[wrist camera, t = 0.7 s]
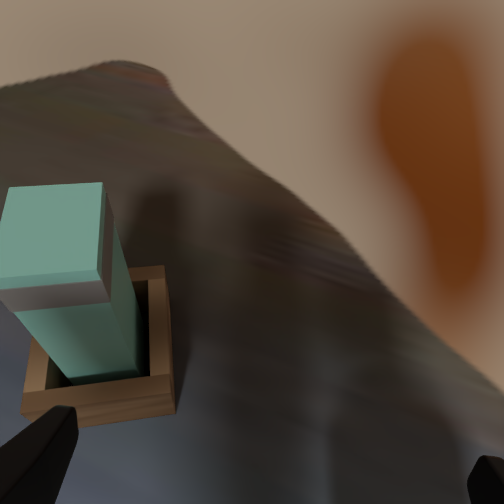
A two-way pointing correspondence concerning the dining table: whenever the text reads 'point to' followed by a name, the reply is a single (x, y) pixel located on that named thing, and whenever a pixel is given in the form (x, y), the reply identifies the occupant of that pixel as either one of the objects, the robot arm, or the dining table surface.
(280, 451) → the dining table surface
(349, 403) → the dining table surface
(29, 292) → the plug
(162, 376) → the holster
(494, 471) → the robot arm
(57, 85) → the dining table surface
